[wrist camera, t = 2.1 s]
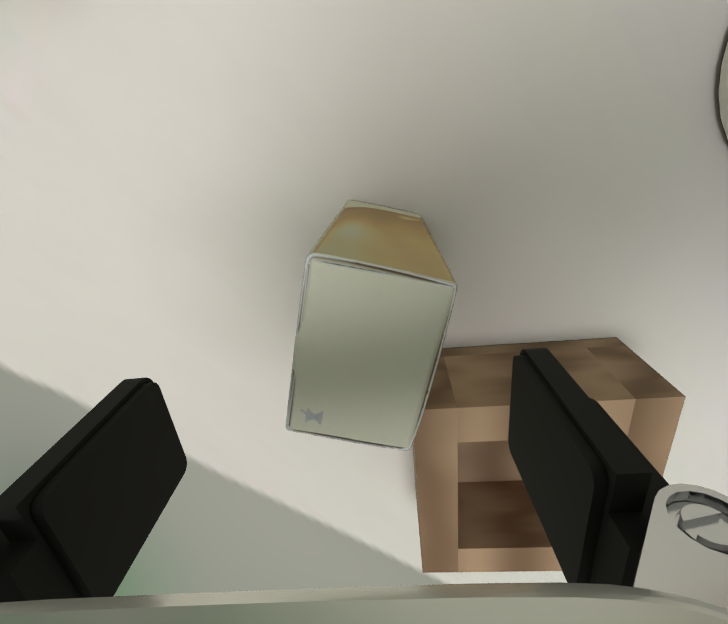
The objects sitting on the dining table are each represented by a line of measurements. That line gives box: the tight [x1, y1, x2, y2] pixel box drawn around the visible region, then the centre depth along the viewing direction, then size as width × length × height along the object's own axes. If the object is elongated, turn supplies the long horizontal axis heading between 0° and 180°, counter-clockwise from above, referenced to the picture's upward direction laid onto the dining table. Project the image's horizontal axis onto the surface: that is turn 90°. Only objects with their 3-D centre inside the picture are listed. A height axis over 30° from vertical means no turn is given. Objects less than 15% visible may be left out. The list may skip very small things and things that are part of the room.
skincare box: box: [286, 200, 457, 451], centre depth 17 cm, size 6×4×12 cm
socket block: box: [413, 338, 685, 573], centre depth 24 cm, size 13×13×6 cm
